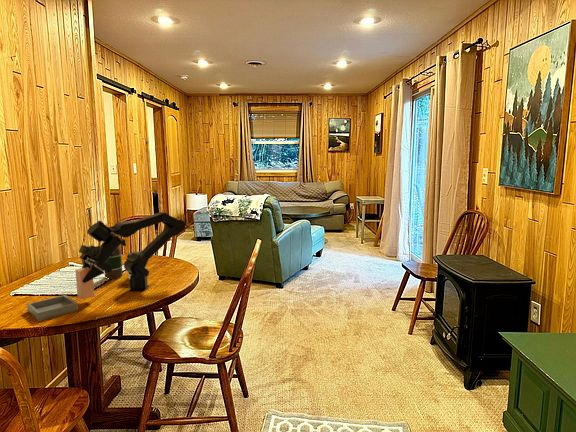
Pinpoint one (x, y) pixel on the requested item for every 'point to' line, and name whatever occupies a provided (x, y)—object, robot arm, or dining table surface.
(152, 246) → the robot arm
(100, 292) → the dining table surface
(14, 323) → the dining table surface
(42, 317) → the tote
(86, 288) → the carton
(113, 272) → the beer bottle
